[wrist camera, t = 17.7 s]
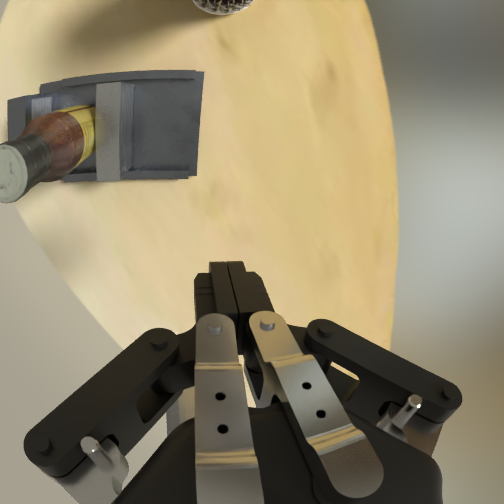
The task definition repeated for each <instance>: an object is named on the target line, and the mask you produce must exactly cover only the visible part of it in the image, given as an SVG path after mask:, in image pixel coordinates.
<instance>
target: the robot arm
mask: <svg viewBox="0 0 504 504" xmlns="http://www.w3.org/2000/svg"><path fill="white" fill-rule="evenodd" d="M194 303H195V319H196V324H195V325H194V327H193V328H192V329H190V330H189V331H187V332H185V333H182V334H178V335H176V334H175V333H174V332H172V331H171V330H168V329H165V328H154V329H151V330H148V331H146V332H145V333H144V334H142V335H141V336H140V337H139V338H138V339H136V340H135V341H134V342H133V343H132V344H131V345H129V346H128V347H127V348H126V349H125V350H123V351H122V352H121V353H120V354H119V355H117V356H116V357H115V358H114V359H113V360H112V361H110V362H109V363H108V364H107V365H106V366H105V367H103V368H102V369H101V370H100V371H99V372H97V373H96V374H95V375H94V376H93V377H92V378H90V379H89V380H88V381H87V382H86V383H85V384H83V385H82V386H81V387H80V388H79V389H78V390H76V391H75V392H74V393H73V394H72V395H71V396H69V397H68V398H67V399H66V400H65V401H64V402H62V403H61V404H60V405H59V406H58V407H56V408H55V409H54V410H53V411H52V412H51V413H49V414H48V415H47V416H46V417H45V418H44V419H42V420H41V421H40V422H39V423H38V424H37V425H36V426H34V427H33V428H32V429H31V430H30V431H29V432H28V433H27V435H26V436H25V439H24V451H25V454H26V456H27V457H28V458H29V460H30V461H31V462H32V463H34V464H35V465H36V466H37V467H39V468H40V469H41V471H42V472H43V473H45V474H46V475H47V476H48V477H50V478H51V479H53V480H54V481H55V482H57V483H58V484H60V485H61V486H62V487H63V488H64V489H65V490H66V491H67V492H68V493H69V494H70V495H71V496H72V497H73V498H74V499H75V500H77V501H78V502H79V503H80V504H443V500H442V475H441V471H440V469H439V466H438V465H437V463H436V461H435V460H434V459H433V458H432V457H431V456H432V454H433V451H434V448H435V446H436V443H437V441H438V438H439V435H440V432H441V429H442V426H443V423H444V422H445V421H446V420H447V419H448V418H449V417H450V416H451V415H452V414H453V413H454V412H455V411H456V410H457V409H458V407H459V406H460V405H461V403H462V395H461V392H460V390H459V389H458V387H457V386H456V385H454V384H453V383H451V382H449V381H447V380H445V379H443V378H441V377H439V376H437V375H435V374H433V373H431V372H429V371H427V370H425V369H423V368H421V367H419V366H417V365H415V364H413V363H411V362H409V361H407V360H405V359H403V358H401V357H399V356H397V355H395V354H394V353H392V352H390V351H388V350H386V349H384V348H382V347H380V346H378V345H376V344H374V343H372V342H370V341H368V340H367V339H365V338H363V337H361V336H359V335H357V334H355V333H353V332H351V331H349V330H347V329H346V328H344V327H342V326H340V325H338V324H336V323H334V322H332V321H330V320H326V319H316V320H313V321H311V322H310V323H309V324H308V326H307V328H305V327H298V326H292V325H289V324H286V322H285V320H284V318H283V317H282V316H280V315H279V314H277V313H275V311H274V309H273V306H272V304H271V301H270V298H269V296H268V293H267V291H266V288H265V287H264V283H263V281H262V278H261V277H260V276H259V275H258V274H256V273H255V272H246V269H245V266H244V263H243V261H227V262H209V273H198V274H197V276H196V278H195V279H194ZM238 355H243V357H244V372H245V375H246V378H247V381H248V384H249V387H250V390H251V393H252V396H253V398H254V401H255V404H256V408H252V407H248V405H247V398H246V391H245V384H244V377H243V369H242V365H241V364H239V359H238ZM332 362H334V363H336V364H338V365H340V366H341V367H343V368H345V369H347V370H349V371H350V372H352V373H354V374H355V375H357V376H358V378H359V380H356V379H354V378H352V377H350V376H348V375H347V374H345V373H343V372H341V371H340V370H338V369H336V368H334V367H332V366H331V363H332ZM165 413H166V414H167V415H166V416H167V438H166V439H165V440H164V442H163V443H162V444H161V445H160V446H159V448H158V449H157V450H156V451H155V452H154V454H153V455H152V456H151V457H150V458H149V460H148V461H147V462H146V463H145V464H144V466H143V467H142V468H141V470H139V472H138V473H137V474H136V475H135V477H134V478H133V479H132V480H131V481H130V482H129V484H128V485H127V486H126V487H125V488H124V489H123V490H122V484H123V481H124V480H125V478H126V477H127V475H128V471H129V466H128V462H127V460H126V458H125V455H127V453H128V452H129V451H130V450H131V449H132V448H133V447H134V446H135V445H136V444H137V443H138V442H139V441H140V440H141V439H142V438H143V436H144V435H145V434H146V433H147V432H148V431H149V430H150V429H151V428H152V427H153V426H154V424H155V423H156V422H157V421H158V420H159V419H160V418H161V417H162V416H163V415H164V414H165Z"/></svg>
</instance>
